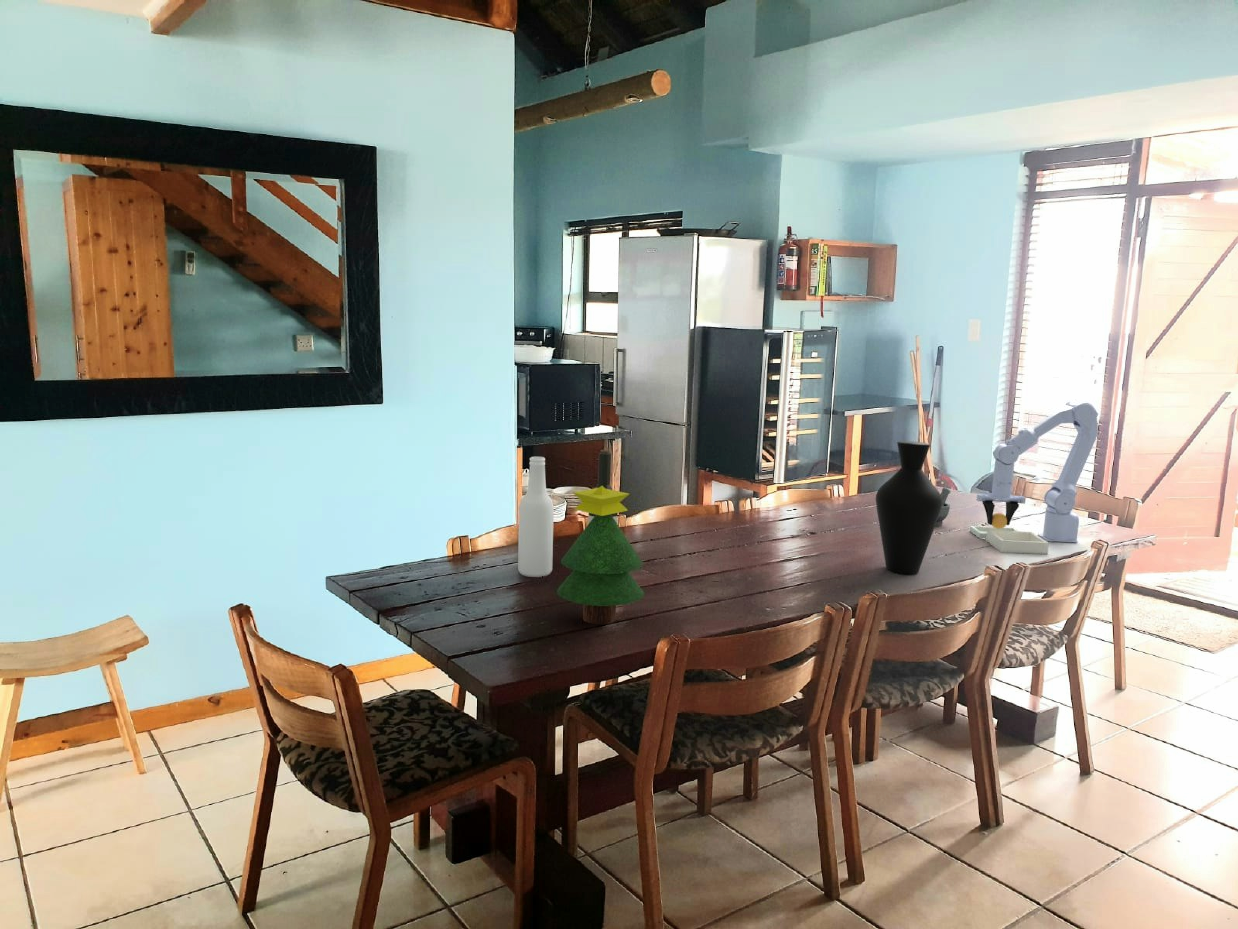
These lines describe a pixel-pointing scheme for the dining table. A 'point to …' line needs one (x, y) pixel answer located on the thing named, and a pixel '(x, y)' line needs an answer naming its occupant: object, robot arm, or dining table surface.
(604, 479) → the wine bottle
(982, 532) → the tray
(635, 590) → the decorative tree
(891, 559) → the vase
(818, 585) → the dining table surface
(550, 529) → the alcohol
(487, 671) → the dining table surface
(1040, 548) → the cream open box
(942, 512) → the mortar and pestle
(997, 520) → the ball
